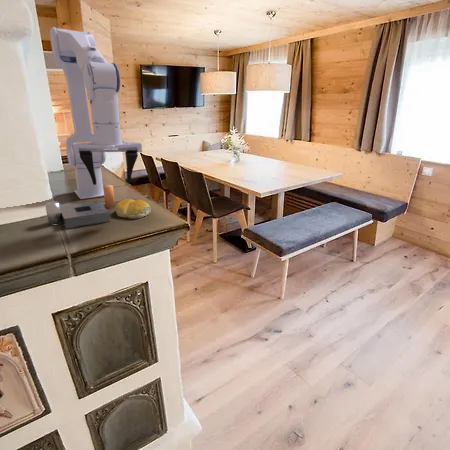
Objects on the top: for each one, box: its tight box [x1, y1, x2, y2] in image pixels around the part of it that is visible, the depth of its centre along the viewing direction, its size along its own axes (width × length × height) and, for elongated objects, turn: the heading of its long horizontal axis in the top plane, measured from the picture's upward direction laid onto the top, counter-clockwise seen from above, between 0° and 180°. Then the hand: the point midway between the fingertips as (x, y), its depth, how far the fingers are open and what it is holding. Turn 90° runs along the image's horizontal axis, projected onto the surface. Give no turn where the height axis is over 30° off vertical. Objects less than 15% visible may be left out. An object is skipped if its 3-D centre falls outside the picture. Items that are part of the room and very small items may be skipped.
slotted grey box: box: [44, 200, 111, 230], centre depth 76 cm, size 10×13×5 cm
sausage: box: [103, 184, 116, 209], centre depth 85 cm, size 3×3×6 cm
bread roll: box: [115, 198, 152, 220], centre depth 82 cm, size 8×9×4 cm
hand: (112, 182), depth 73 cm, fingers open, 7 cm apart
